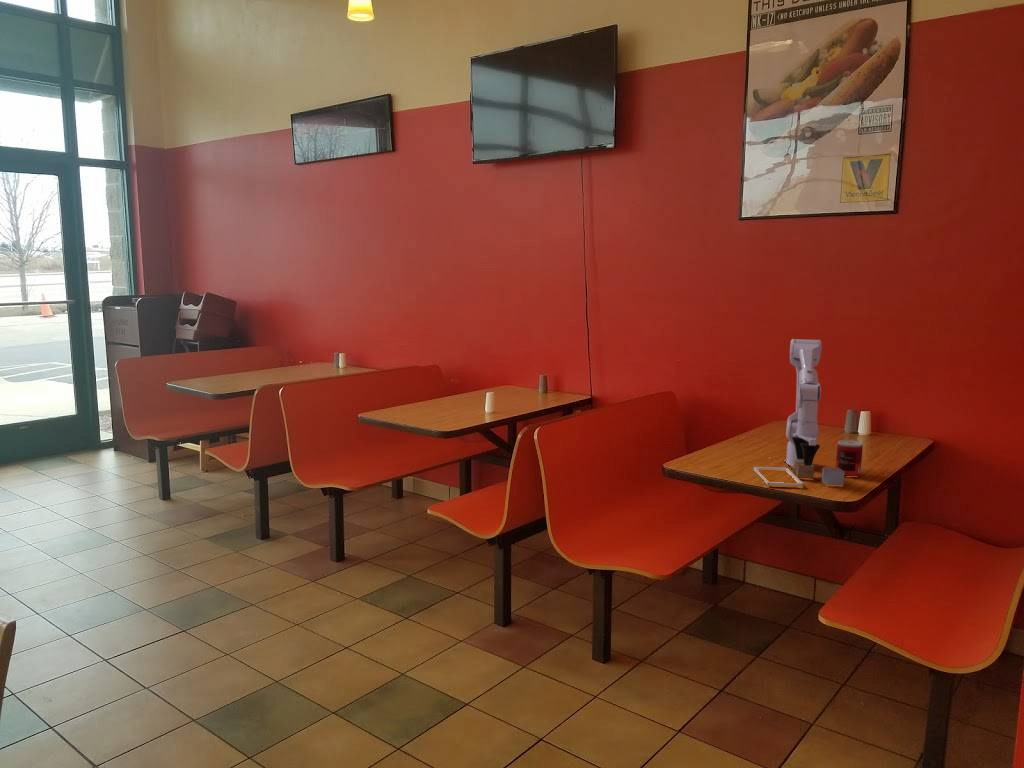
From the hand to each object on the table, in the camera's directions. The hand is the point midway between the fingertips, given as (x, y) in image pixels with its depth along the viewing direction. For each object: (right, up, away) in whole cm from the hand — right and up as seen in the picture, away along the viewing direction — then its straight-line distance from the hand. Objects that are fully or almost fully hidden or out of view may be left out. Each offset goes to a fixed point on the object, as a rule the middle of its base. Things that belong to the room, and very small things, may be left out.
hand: (804, 462), depth 252 cm
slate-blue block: (+7, -7, -6) cm, 11 cm away
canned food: (+16, -5, +5) cm, 18 cm away
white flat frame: (-9, -6, -1) cm, 11 cm away
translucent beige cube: (0, -5, +1) cm, 5 cm away
